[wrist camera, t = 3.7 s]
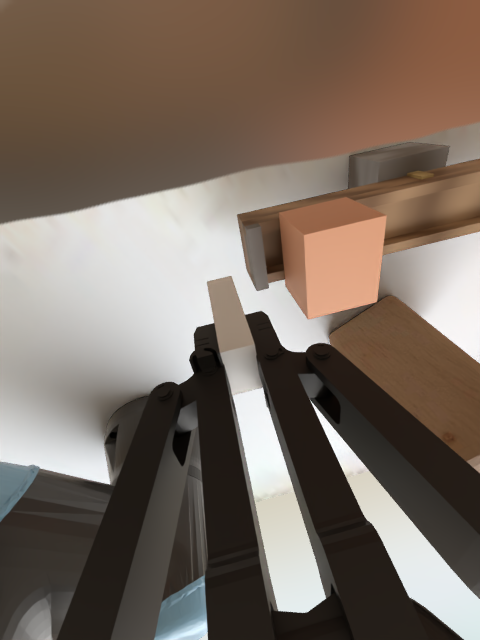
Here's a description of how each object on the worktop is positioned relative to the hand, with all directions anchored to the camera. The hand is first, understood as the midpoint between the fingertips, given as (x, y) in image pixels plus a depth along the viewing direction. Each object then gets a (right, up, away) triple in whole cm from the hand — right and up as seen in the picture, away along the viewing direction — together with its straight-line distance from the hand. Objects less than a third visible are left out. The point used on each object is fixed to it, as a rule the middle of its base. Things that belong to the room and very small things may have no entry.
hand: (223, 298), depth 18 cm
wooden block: (+19, -3, +23) cm, 30 cm away
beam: (+15, +11, +12) cm, 22 cm away
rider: (+6, +5, +5) cm, 10 cm away
